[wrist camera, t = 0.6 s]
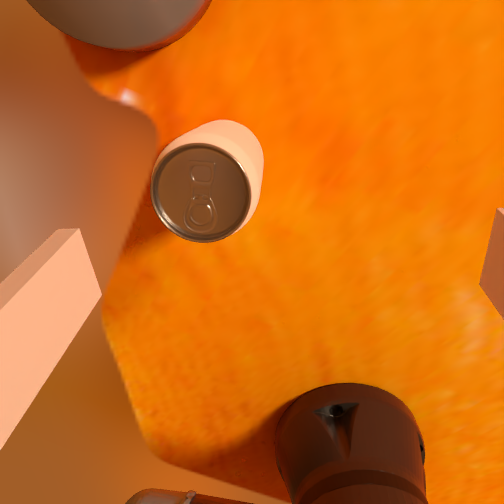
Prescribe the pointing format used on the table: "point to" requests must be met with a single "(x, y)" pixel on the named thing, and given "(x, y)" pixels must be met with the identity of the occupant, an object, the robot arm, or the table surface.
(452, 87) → the table surface
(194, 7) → the stand
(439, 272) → the table surface
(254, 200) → the can
